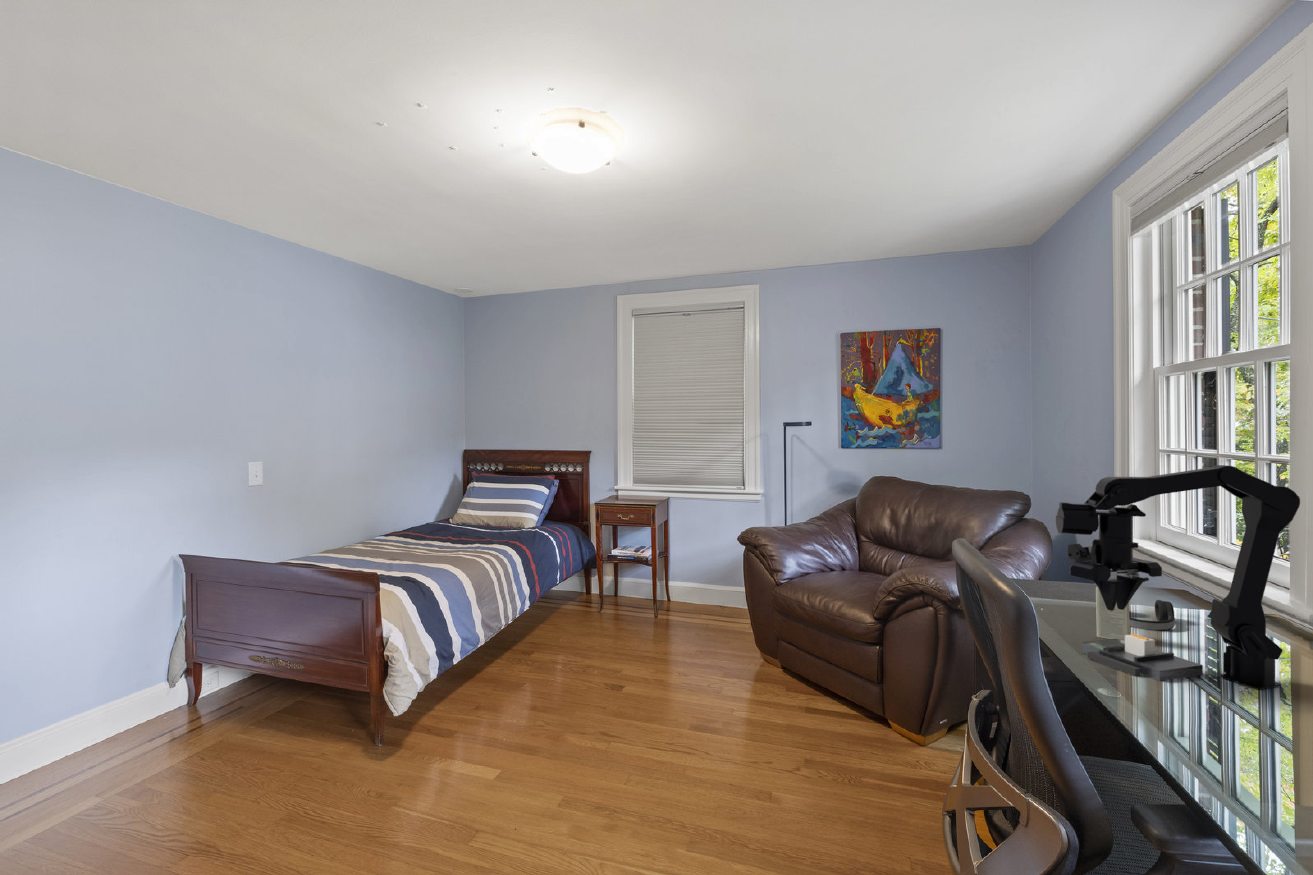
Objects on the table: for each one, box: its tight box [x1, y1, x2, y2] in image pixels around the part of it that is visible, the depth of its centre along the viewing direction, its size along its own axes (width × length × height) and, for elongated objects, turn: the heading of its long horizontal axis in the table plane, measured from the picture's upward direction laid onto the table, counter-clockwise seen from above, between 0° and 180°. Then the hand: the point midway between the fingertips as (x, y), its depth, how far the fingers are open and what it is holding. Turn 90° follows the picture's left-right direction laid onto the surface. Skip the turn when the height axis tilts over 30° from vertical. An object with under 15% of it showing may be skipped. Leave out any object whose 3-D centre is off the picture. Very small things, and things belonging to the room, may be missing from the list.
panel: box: [1081, 639, 1204, 682], centre depth 127 cm, size 16×12×3 cm
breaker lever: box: [1125, 633, 1156, 656], centre depth 127 cm, size 4×3×4 cm
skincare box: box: [1095, 585, 1131, 640], centre depth 143 cm, size 6×4×12 cm
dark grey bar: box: [1086, 651, 1141, 677], centre depth 125 cm, size 10×1×1 cm, turn 15°
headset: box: [1129, 576, 1176, 632], centre depth 157 cm, size 14×10×20 cm
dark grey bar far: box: [1082, 638, 1120, 644], centre depth 136 cm, size 1×10×1 cm, turn 105°
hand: (1115, 609), depth 125 cm, fingers open, 3 cm apart
